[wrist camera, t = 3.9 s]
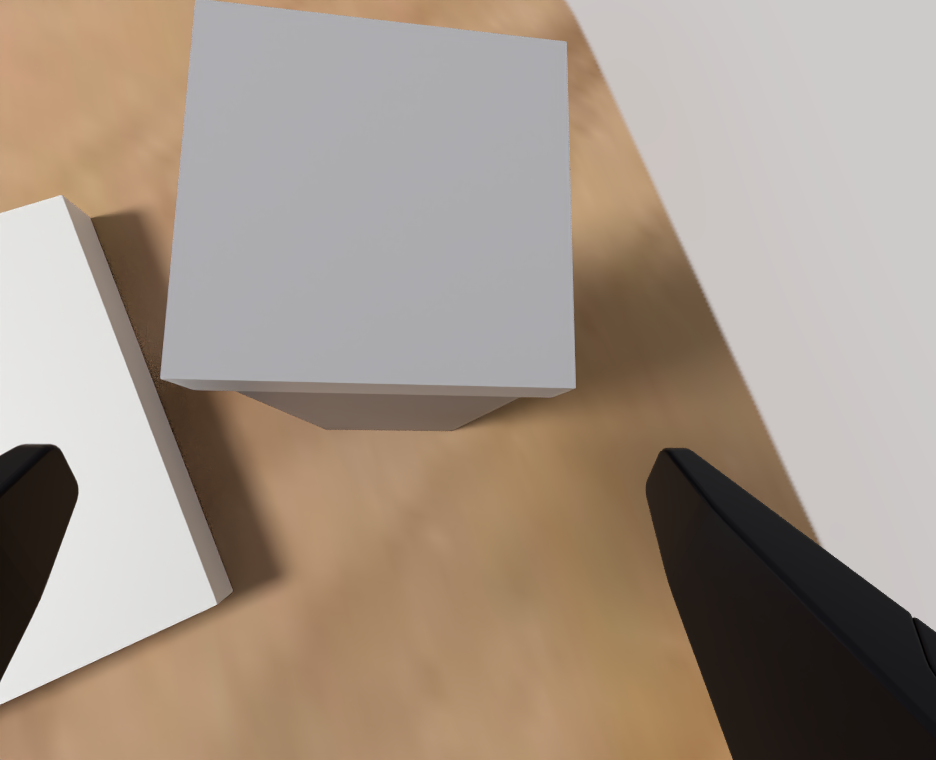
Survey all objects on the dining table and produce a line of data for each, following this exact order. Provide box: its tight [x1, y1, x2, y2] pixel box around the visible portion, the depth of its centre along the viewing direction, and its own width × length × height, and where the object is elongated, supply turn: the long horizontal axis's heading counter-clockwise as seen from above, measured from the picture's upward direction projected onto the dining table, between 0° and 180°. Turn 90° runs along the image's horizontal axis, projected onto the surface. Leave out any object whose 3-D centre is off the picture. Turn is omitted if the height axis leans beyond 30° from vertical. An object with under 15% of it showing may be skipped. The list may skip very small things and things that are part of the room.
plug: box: [160, 0, 576, 431], centre depth 13 cm, size 5×5×13 cm
